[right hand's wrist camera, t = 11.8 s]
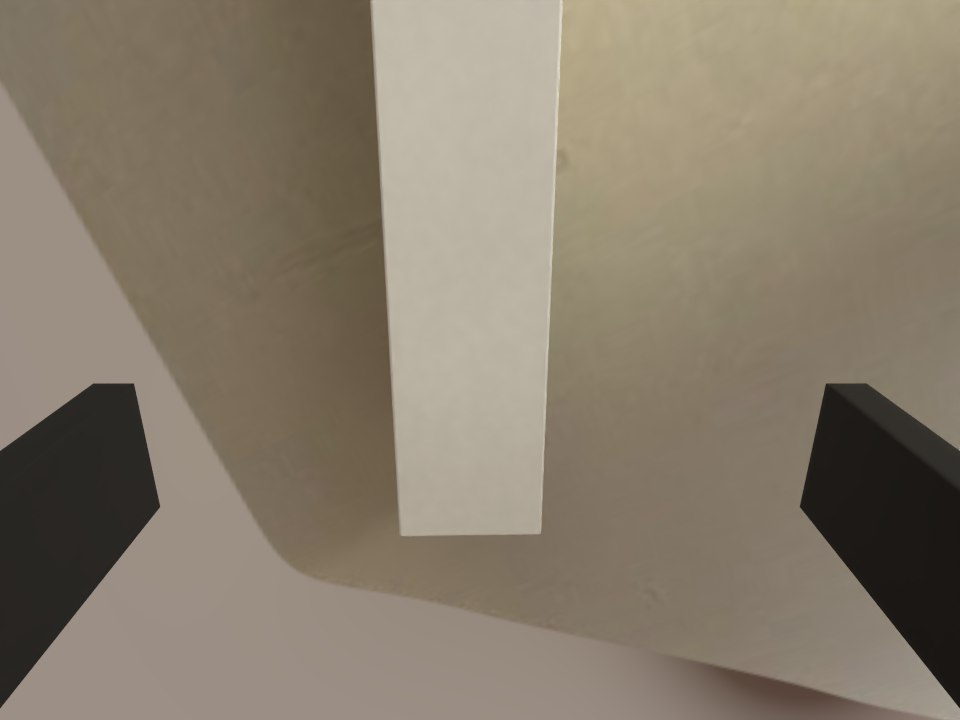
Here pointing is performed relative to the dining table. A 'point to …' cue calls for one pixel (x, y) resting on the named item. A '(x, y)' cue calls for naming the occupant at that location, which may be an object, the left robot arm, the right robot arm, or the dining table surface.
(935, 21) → the dining table surface
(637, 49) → the dining table surface
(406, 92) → the bar
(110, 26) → the dining table surface
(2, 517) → the right robot arm
